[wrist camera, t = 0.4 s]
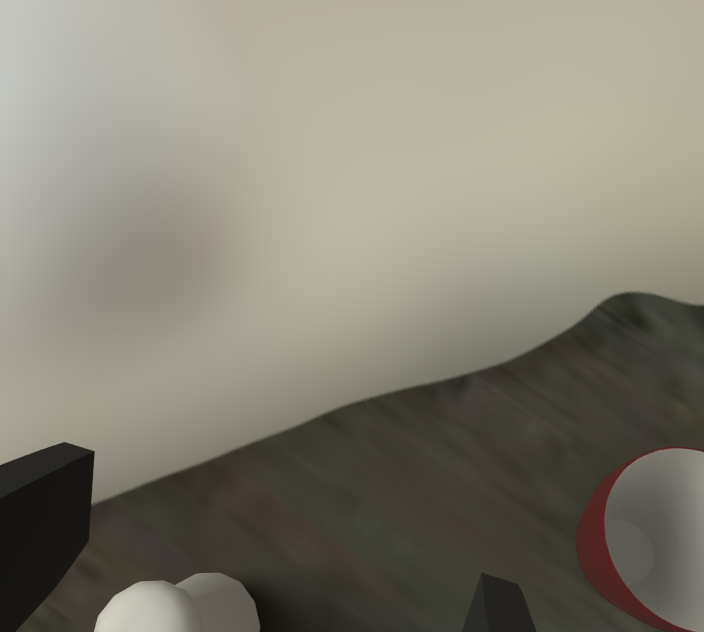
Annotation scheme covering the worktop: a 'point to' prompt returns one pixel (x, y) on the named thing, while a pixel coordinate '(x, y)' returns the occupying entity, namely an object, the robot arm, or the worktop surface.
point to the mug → (649, 539)
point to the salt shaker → (182, 607)
